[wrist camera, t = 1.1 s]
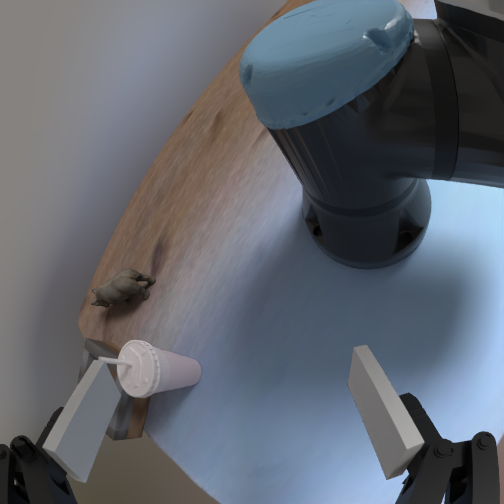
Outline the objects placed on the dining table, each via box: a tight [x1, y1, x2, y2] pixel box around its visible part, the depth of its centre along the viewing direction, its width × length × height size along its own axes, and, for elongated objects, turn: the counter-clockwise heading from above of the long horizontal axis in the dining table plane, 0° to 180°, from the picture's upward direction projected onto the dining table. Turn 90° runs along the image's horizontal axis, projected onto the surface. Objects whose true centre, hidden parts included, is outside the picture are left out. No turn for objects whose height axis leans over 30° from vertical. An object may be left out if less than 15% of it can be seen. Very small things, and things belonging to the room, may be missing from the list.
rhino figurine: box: [91, 269, 156, 308], centre depth 41 cm, size 4×14×6 cm, turn 104°
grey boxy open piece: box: [77, 338, 150, 440], centre depth 35 cm, size 12×12×6 cm
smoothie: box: [98, 340, 202, 398], centre depth 27 cm, size 6×6×14 cm
